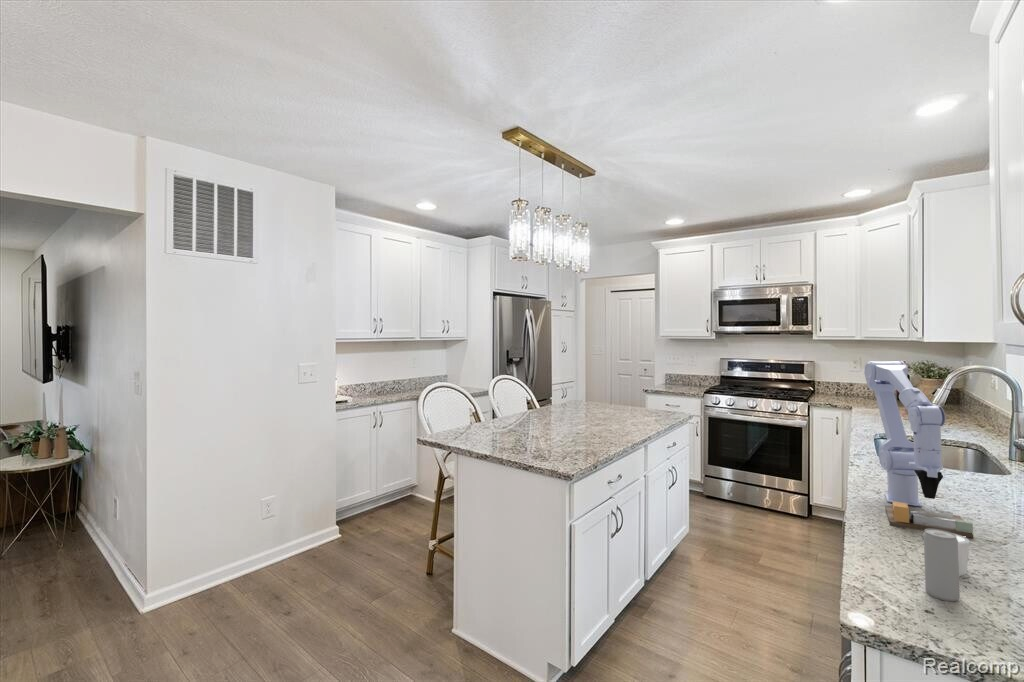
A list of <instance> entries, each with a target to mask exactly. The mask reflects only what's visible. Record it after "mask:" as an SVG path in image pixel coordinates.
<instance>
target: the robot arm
mask: <svg viewBox="0 0 1024 682" xmlns="http://www.w3.org/2000/svg"><path fill="white" fill-rule="evenodd" d="M908 369H909V368H908V365H907V364H906V363H905V361H903V360H898V361H896V360H895V361H873V360H872V361H871V360H869V361H867V362H866V364H865V365H864V371H863V373H864V377H865V382H866V384H867V387H868V389H870V390H871V391H873V392H874V396H875V400H876V404H877V407H878V411H879V415H880V417H881V422H882V426H883V430H884V433H885V439H886V441H884V442H883V443H881V444H880V445H879V447H878V460H879V464H880V466H881V468H882V469H883V470H885V471H886V476H887V480H886V481H887V492H885V493H884V495H885V498H886V501H887V503H892V501H893V502H901V503H907V505H908V506H914V507H923V504H922V502H921V501H920V499H919V484H920V487H921V492H922V494H923V497H924V498H926V499H931V500H932V499H933V500H934V499H936V496H937V491H938V487H939V485H940V483H941V481H942V480H943V478H944V475H943V474H942V470H944V466H943V457H942V455H943V454H942V432H941V430H942V429H941V427H943V426H944V425H945V423H946V418H947V417H946V413H945V411H944V408H943V407H942V406H941V405H939V404H935V403H932V402H931V401H930V400H929V398H928V397H927V396H926V395H925V394H924V392H923V391H922V390H921V389H920V388H917V387H914V386H913V384H912V383H911V381H910V379H909V378H908V374H909V370H908ZM895 391H897V392H898V399H899V401H900V402H901V404H902V405H903V406H904V408H905V409H906V411H907V412H908V413H907V418H908V421H909V425H910V429H911V431H912V432H913V433H912V435H913V442H912V441H911V440H909V439H908V437H907V433H906V430H905V427H904V423H903V419H902V416H901V411H900V408H899V406H898V401H897V398H896V396H895Z"/></svg>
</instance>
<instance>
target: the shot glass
mask: <svg viewBox="0 0 1024 682" xmlns="http://www.w3.org/2000/svg"><path fill="white" fill-rule="evenodd" d="M953 534H954V533H953ZM955 535H956V536H957V537H956V538H957V540H958V560H959V576H966V575H967V573H968V566H969V565H968V563H969V554H970V553H969V552H970V544H971V543H970V542H971V541H970V540H969V539H968V538H967V537H963V536H960V535H957V534H955Z"/></svg>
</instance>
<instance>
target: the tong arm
mask: <svg viewBox="0 0 1024 682" xmlns="http://www.w3.org/2000/svg"><path fill="white" fill-rule="evenodd" d="M909 512H911V513H913V514H918V515H925V516H932V517H939V518H946V519H953V515H954V513H953V512H951V511H948V510H936V511H932V510H930V511H929V510H922V511H909Z"/></svg>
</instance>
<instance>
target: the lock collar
mask: <svg viewBox="0 0 1024 682" xmlns="http://www.w3.org/2000/svg"><path fill="white" fill-rule="evenodd" d="M891 503H892V506H893V516H894V521H900V522H906V523H909V509H910V508H909V505H907V503H901V502H893V501H892V502H891Z"/></svg>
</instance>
